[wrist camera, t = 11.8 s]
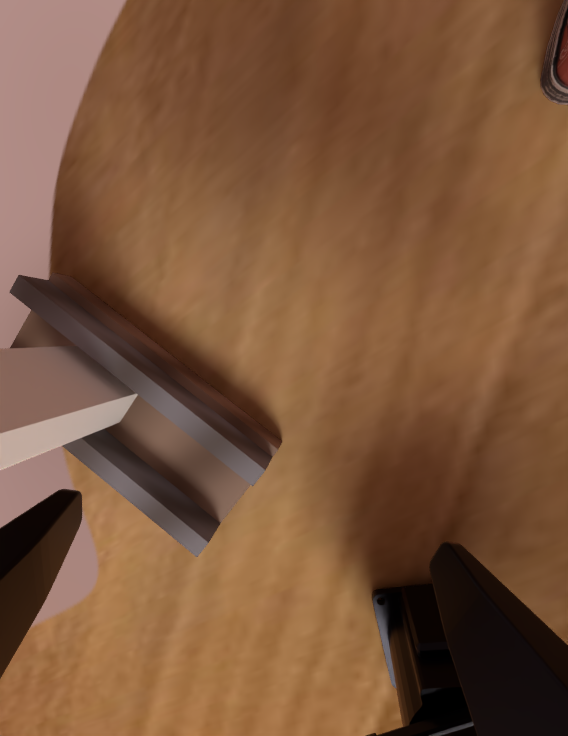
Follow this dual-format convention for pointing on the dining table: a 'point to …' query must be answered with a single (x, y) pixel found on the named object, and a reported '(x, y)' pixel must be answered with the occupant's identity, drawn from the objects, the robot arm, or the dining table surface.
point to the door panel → (54, 400)
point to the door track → (152, 416)
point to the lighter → (557, 60)
